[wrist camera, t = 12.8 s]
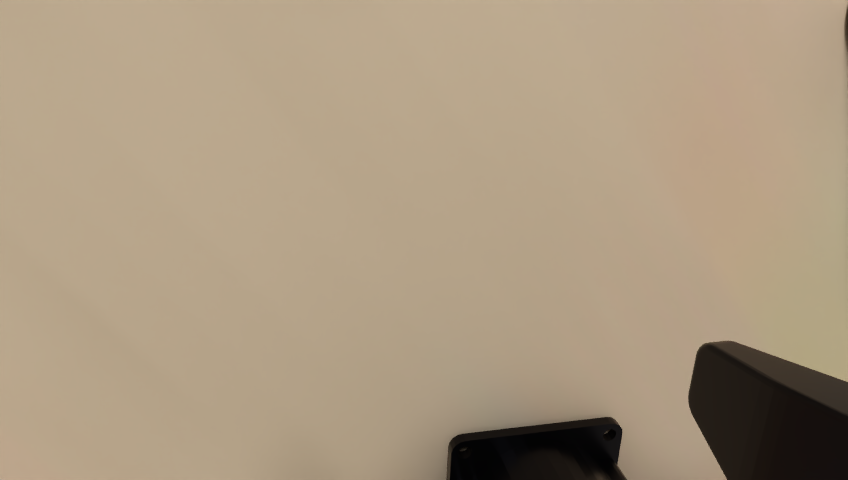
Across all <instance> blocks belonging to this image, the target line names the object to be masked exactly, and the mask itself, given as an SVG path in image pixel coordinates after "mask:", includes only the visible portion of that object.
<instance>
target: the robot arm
mask: <svg viewBox="0 0 848 480" xmlns="http://www.w3.org/2000/svg"><path fill="white" fill-rule="evenodd" d="M688 400H689V407H690V410H691V413H692V415H693V417H694V419H695V421H696V423H697V424H698V426H699V428H700V430H701V432H702V434H703V436H704V437H705V439H706V441H707V443H708V445H709V447H710V449H711V450H712V452H713V454H714V456H715V458H716V460H717V462H718V463H719V465H720V467H721V469H722V471H723V473H724V474H725V476H726V478H727V480H848V382H846V381H843V380H840V379H837V378H835V377H832V376H829V375H826V374H823V373H821V372H818V371H815V370H812V369H809V368H807V367H804V366H801V365H798V364H795V363H793V362H790V361H787V360H784V359H781V358H779V357H776V356H773V355H770V354H767V353H765V352H762V351H759V350H756V349H753V348H751V347H748V346H745V345H742V344H739V343H737V342H733V341H720V342H710V343H705V344H703V345H702V346H701V347H700V348H699V349H698V351H697V354H696V359H695V364H694V369H693V374H692V379H691V384H690V389H689V395H688ZM610 429H611V430H610ZM607 430H610V431H609V432H608V433H606V434H604V433H605V432H606V431H607ZM621 438H622V429H621V427H620V426H619V424H618V423H617V422H616V420H615V419H613V418H611V417H604V418H595V419H587V420H578V421H569V422H561V423H552V424H544V425H535V426H526V427H518V428H509V429H501V430H492V431H483V432H475V433H466V434H461V435H457V436H456V437H454V438H453V439H452V440H451V441H450V443H449V446H448V463H447V480H627V479H626V477H625V476H624V474H623V473H622V472H621V470H620V469H619V467H618V466H617V463H618V456H619V450H620V444H621ZM463 447H468V448H467V449H466V450H464V451H459V450H460V449H461V448H463Z"/></svg>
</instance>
